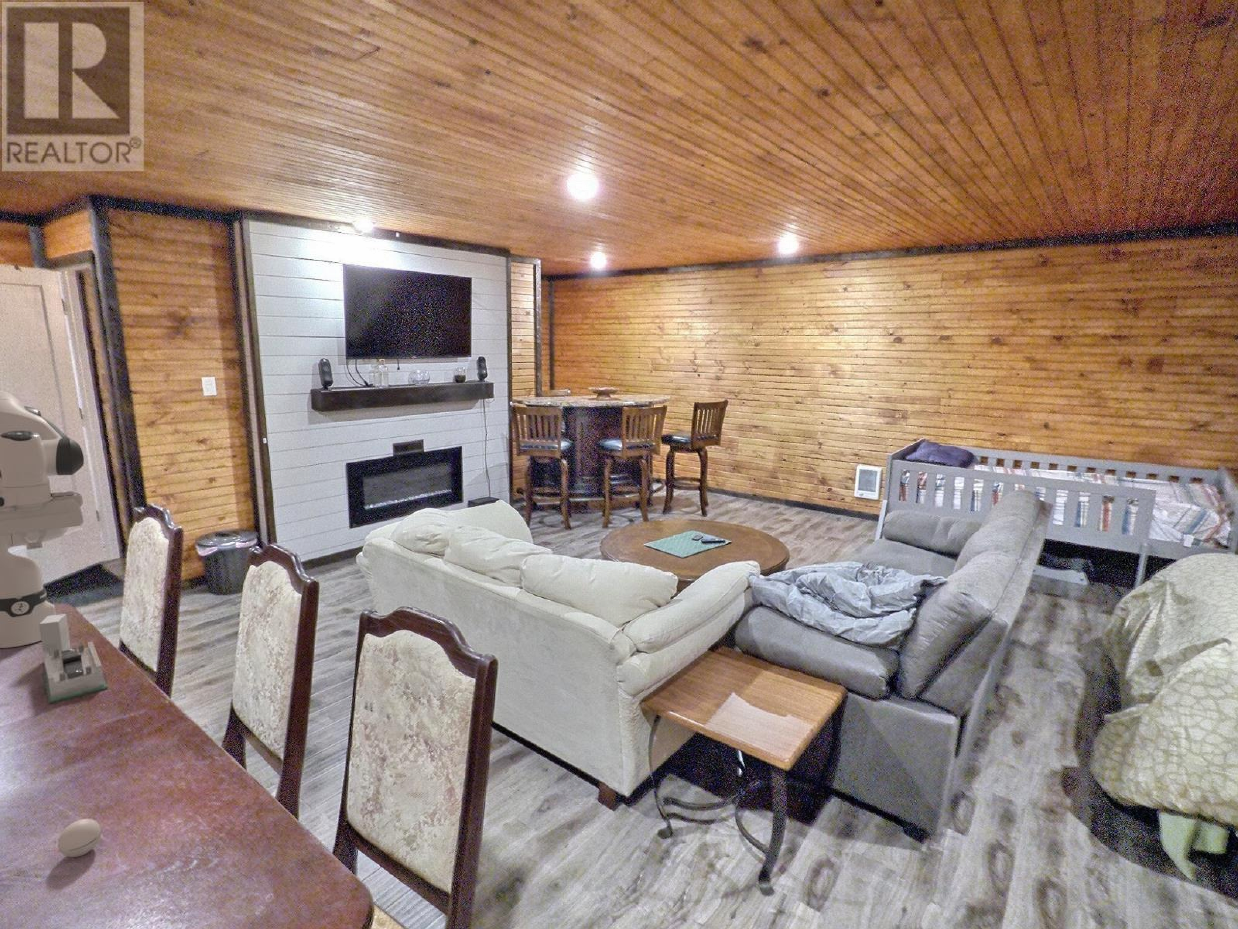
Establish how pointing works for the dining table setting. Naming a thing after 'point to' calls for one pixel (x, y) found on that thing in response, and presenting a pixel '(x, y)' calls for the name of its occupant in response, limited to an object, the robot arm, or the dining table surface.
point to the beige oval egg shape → (79, 837)
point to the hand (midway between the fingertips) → (34, 548)
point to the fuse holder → (75, 686)
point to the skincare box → (55, 634)
